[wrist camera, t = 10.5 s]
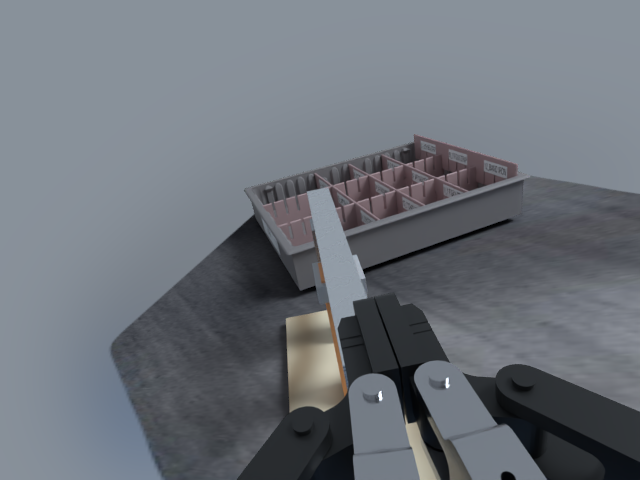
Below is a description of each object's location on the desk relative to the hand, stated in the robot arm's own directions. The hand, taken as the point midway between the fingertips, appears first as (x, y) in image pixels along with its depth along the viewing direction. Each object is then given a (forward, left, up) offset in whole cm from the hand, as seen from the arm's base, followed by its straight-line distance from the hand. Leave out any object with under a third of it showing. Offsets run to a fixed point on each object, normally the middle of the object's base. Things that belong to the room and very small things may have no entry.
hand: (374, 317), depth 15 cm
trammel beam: (0, -18, -23) cm, 29 cm away
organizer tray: (-10, -57, -24) cm, 63 cm away
